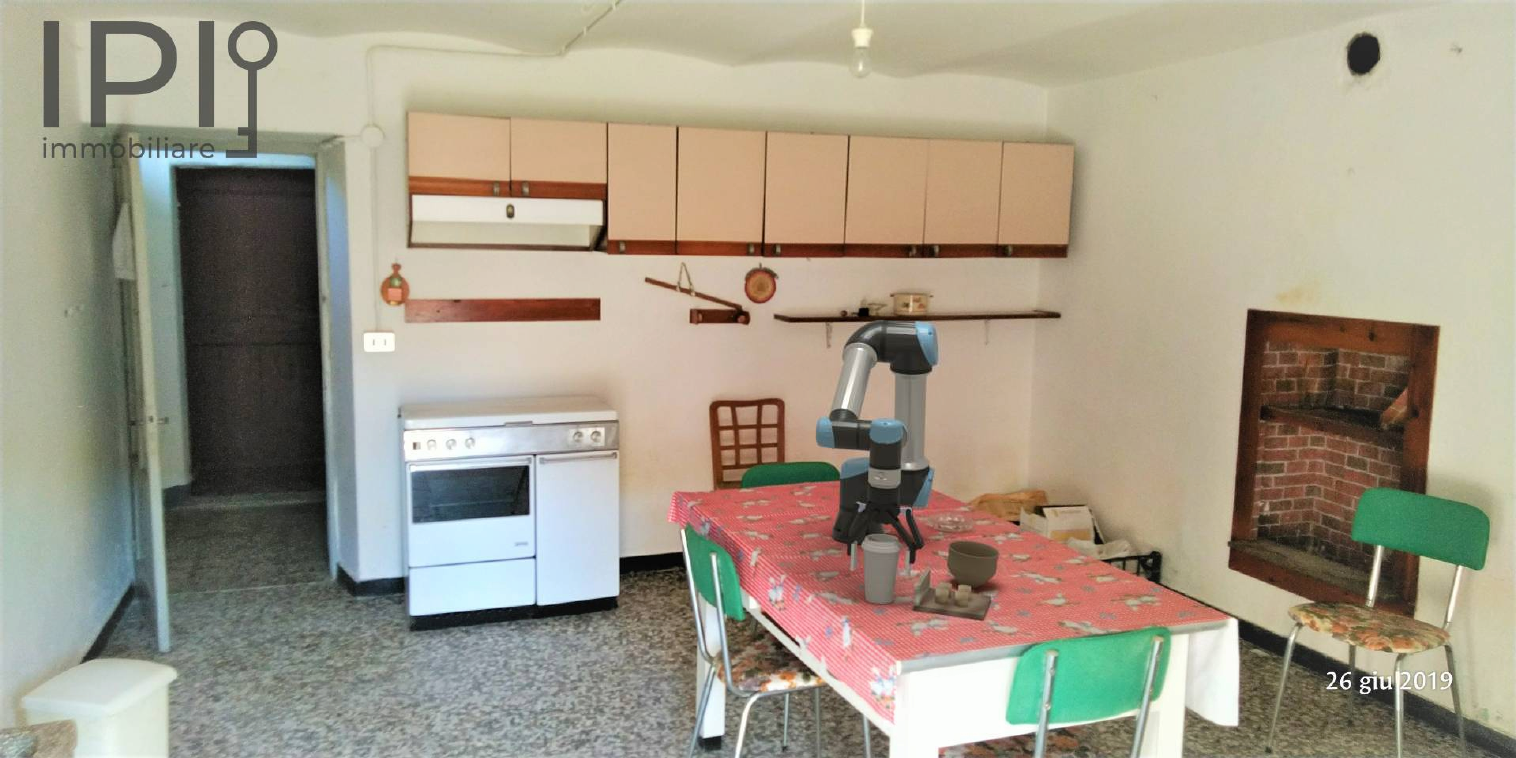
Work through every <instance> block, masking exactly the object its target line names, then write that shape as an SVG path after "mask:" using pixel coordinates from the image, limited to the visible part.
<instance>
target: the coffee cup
mask: <svg viewBox="0 0 1516 758" xmlns="http://www.w3.org/2000/svg"><path fill="white" fill-rule="evenodd" d="M899 539H900V538H898V536H895V535H891V534H885V533H884V534H871V535H868V536H866V537H865V539H864V541H863V542H862V544H860V547H861V548H862V549H863V550H862V551H863V569H864V570H863V572H864V574H863V575H864V593H865V601H867V602H869V603H871V604H876V605H887V604H891V603H893V600H894V597H895V596H894V595H895V594H894V593H895V587H896V580H897V572H898V564H899V557H900V551H902V550H903V547H902V545H901V542H900V540H899Z"/></svg>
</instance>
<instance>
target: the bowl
mask: <svg viewBox="0 0 1516 758" xmlns="http://www.w3.org/2000/svg"><path fill="white" fill-rule="evenodd" d="M999 556H1000V551H999V550H998V549H997V548H996V547H994V546H992V545H989V544H987V543H984V542H979V541H973V540H955V541H951V542H949V543H948V553H947V560H946V567H947V570H948V571H949V573H950V574H951V575H952V576H953V577H954V578H955V579H956V580H957V582H958V583H959V585H968V586H971V589H972V588H974V589H975V588H979V587H980V586H981V585H983V584H985V583H987V582H989V581H990V580H991V579H992V578H993V577H994V576H996V573H997V567H998V560H999Z"/></svg>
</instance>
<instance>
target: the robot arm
mask: <svg viewBox="0 0 1516 758" xmlns="http://www.w3.org/2000/svg"><path fill="white" fill-rule="evenodd" d="M845 342H846V343H845V344H844V347H843V350H842V354H841V358H842V363H843V365H842V367H841V368H842V369H841V370H840V371H841V372H840V375H839V378H838V382H837V386H836V389H835V392H834V397H833V400H832V405H831V408H830V411H829V415H828V416H823V417H821V416H820V417H819V419H818V420H817V422H816V427H815V442H816V445H818V446H819V447H821V448H826V449H827V448H828V449H832V450H835V449H836V450H853V451H854V450H855V451H864V452H866V451H867V452H869V456H867V457H866V456H865V457H864V456H863V457H855V458H851V459H847V460H846V461H844V462H843V463H842V464H841V466H840V476H839V501H838V502H839V504H838V505H839V506H838V507H839V509H838V512H837V515H836V517H835V521H834V524H833V526H832V530H831V532H832V533H831V537H832V538H833V539H834V540H836V541H838V542H842V543H846V544H847V547H846V556H848V557H850V571H851V572H852V571H853V572H855V570H856V569H857V560H858V559H857V556H858V545H862V542H863V541H864V539H865V537H866V536H868V535H871V534H885V528H884V525H885V526H888V525H891V526H892V528H893V529H894V530H895V531H896V532H897V533H898V535H899V536H900V538H901V539H902V541H903V542H904V543H905V545H906V546H907V549H906V551H905V569H904V570H905V573H904V578H905V579H909V578H910V576H911V574H912V573H911V570H912V565H914V564H915V563H916V560H917V559H916V556H917V550H922V549H923V548H924V546H925V543H924V539H923V537H922V535H921V532H920V530H919V527H918V525H917V522H916V520H915V517H914V509H913V508H921V509H922V508H925V507H927V506H928V505H929V501H930V497H931V493H932V488H933V482H934V476H935V468H934V467H932V466H930V460H929V459H928V458H927V457H926V456H925V447H926V446H925V445H926V444H925V439H926V413H927V412H926V408H927V407H926V404H927V401H926V400H927V379H928V378H927V377H928V376H929V375H930V374H931V373H932V372H933V367H935V366H937V365H938V363H939V342H938V334H937V330H936V328H935V326H934V324H932V323H930V322H923V321H922V322H921V321H919V320H917V321H916V320H915V321H913V320H885V319H877V320H873V321H870V322H868V323H866V324H864V325H862V326H860V327H859V328H857V329H856V331H854V332H853V333H852V334H851V335H850V337H849V338H848V339H847V340H846V341H845ZM878 363H884V364H889V371H890V372H891V373H892V374H893V375H894V418H886V417H885V418H875V419H873V420H868V419H867V420H866V419H860V418H861V413H862V410H863V409H862V408H863V404H864V401H865V397H866V392H867V389H868V385H869V380H870V375H871V372H872V369H873V368H875V366H876V365H877V364H878ZM901 514H902V516H903V518H905V520H906V523H907V526H908V528H909V530H910V532H911V535H912V536H911V535H910V534H909V533H908V531H907V530H906V528H905V527H904V525H903V523H902V522H901V520H900V518H899V517H898V516H899V515H901Z"/></svg>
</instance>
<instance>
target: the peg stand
mask: <svg viewBox="0 0 1516 758" xmlns="http://www.w3.org/2000/svg"><path fill="white" fill-rule="evenodd" d="M931 571H932V569H931V568H927V567H925V569H924V570H923V572H922V573H921V575H920V576H919V578H918V579H917V581H916V582H915V584H914V585H913V586H914V587H913V588H914V589H913V606H912V611H915V612H921V613H922V612H923V613H929V614H930V613H931V614H936V615H937V614H938V615H944V616H948V617H949V616H951V617H957V618H963V619H964V618H965V619H972V620H976V621H977V620H978V621H984V619H985V617H986V615H987V612H988V610H989V607H990V604H991V602H992V596H991V595H984V594H983V595H982V594H976V593H972V588H971V586H968V585H961V584H959V585H958V589H957V590H956V591H954V590H952V587H953V584H952V583H951V582H945V581H942V582H939V583H938V588H934V587H933V588H932V587H930V586H931Z"/></svg>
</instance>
